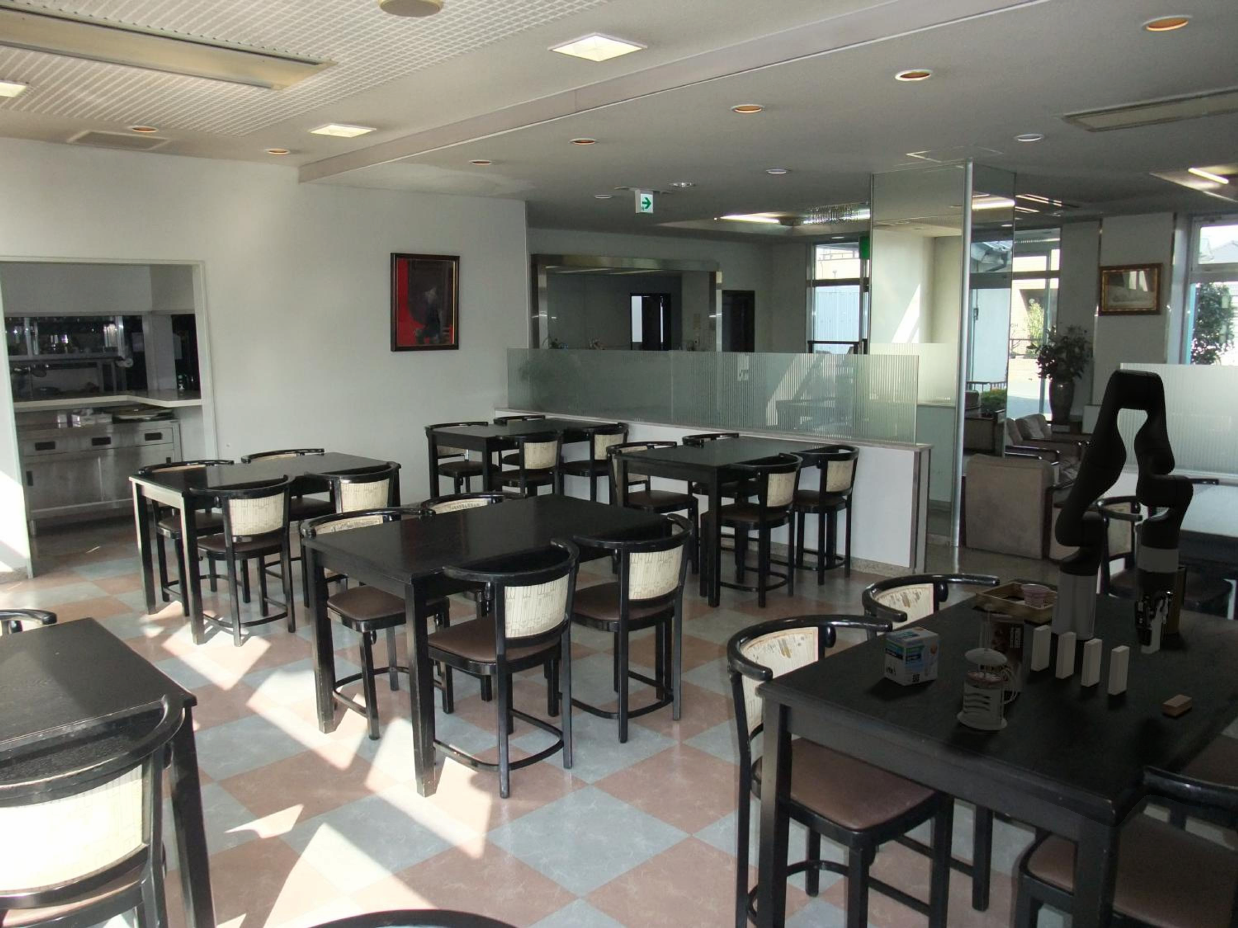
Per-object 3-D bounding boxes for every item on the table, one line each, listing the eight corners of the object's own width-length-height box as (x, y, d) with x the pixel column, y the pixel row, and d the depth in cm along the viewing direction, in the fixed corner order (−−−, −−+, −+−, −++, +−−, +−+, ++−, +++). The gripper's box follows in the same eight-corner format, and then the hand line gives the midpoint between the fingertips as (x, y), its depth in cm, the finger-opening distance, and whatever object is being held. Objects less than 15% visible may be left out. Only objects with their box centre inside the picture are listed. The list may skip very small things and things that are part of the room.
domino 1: (1031, 669, 222) (1034, 628, 220) (1041, 664, 225) (1044, 624, 223) (1037, 671, 221) (1040, 630, 219) (1048, 666, 224) (1051, 626, 222)
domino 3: (1081, 684, 212) (1084, 642, 211) (1091, 679, 215) (1095, 638, 214) (1088, 686, 211) (1091, 644, 210) (1098, 681, 214) (1102, 640, 213)
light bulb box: (904, 686, 211) (906, 641, 209) (883, 676, 217) (885, 632, 215) (938, 678, 216) (940, 634, 214) (916, 669, 222) (919, 625, 220)
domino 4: (1107, 692, 208) (1111, 649, 206) (1118, 687, 211) (1122, 645, 209) (1115, 695, 206) (1119, 652, 205) (1125, 689, 209) (1129, 647, 208)
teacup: (1015, 600, 277) (1016, 580, 276) (1059, 606, 271) (1060, 585, 270) (1009, 610, 267) (1010, 590, 266) (1055, 617, 261) (1056, 596, 260)
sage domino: (1141, 652, 201) (1145, 607, 200) (1151, 647, 204) (1155, 603, 203) (1149, 654, 200) (1153, 609, 198) (1159, 649, 203) (1163, 605, 201)
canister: (1142, 632, 248) (1148, 559, 245) (1129, 620, 258) (1136, 550, 255) (1187, 635, 246) (1194, 562, 243) (1173, 623, 256) (1179, 552, 253)
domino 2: (1055, 676, 217) (1058, 635, 216) (1066, 671, 220) (1069, 631, 219) (1062, 678, 216) (1065, 637, 214) (1073, 673, 219) (1076, 633, 217)
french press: (971, 706, 200) (978, 594, 196) (1024, 723, 192) (1032, 606, 188) (947, 718, 194) (954, 603, 190) (1001, 737, 185) (1009, 616, 181)
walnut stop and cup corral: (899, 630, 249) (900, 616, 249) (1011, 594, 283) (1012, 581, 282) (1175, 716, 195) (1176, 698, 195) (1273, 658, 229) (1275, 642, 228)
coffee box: (1019, 682, 213) (1023, 615, 211) (1021, 693, 207) (1026, 623, 205) (976, 677, 216) (980, 611, 214) (977, 687, 210) (982, 619, 208)
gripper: (1153, 557, 207) (1147, 631, 209) (1123, 567, 198) (1117, 644, 200) (1190, 564, 201) (1183, 640, 203) (1161, 575, 192) (1154, 654, 195)
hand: (1150, 642), depth 202 cm, fingers closed on sage domino, 5 cm apart
